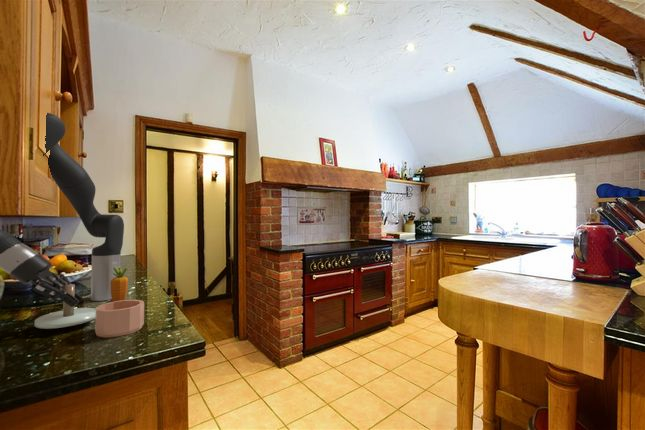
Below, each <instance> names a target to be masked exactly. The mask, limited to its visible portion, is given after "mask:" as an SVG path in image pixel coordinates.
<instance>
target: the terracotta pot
mask: <svg viewBox="0 0 645 430" xmlns="http://www.w3.org/2000/svg"><path fill="white" fill-rule="evenodd" d="M95 309H96V312H95V319H94V325H95V326H94V332H95V334H96V336H97V337H99V338H117V337H123V336H127V335H130V334H133V333H136V332H138V331H139V330H141V329H142V328H143V326H144V325H145V302H144V301H143V300H140V299H125V300H121V301H114V302H113V301H110V302H106V303H103V304H102V303H101V304H100V305H98V306H96V307H95Z"/></svg>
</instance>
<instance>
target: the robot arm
mask: <svg viewBox="0 0 645 430" xmlns="http://www.w3.org/2000/svg"><path fill="white" fill-rule="evenodd" d="M65 134H66V125H65V123H64V122H63V120H62V119H61V118H60V117H59V116H58V115H55V114H53V113H50V112H47V115H46V136H45V137H46V138H45V141H46V144H45V148H46V153H47V152H48V151H49V150H50V155H49V158H48V165H49V168H50V172H51V175H52V177H51V178H52V179H53V181H54V182H55V184H56V185H57V187H58V188H59V190H60V191H61V192H62V194H63V195H64V196H65V197H66V199H67V200H68V202H69V203H70V205H71V206H72V207H73V209H74V210H75V211H76V213H77V215H78V217H79V219H80V220H81V222H82V224H83V226H84V228H85V230H86V231H87V232H88V233H89V235H90V236H92V237H94V238H105V239H104V242H103V243H102V244H101V245H98V246H95V247H93V248H92V250H91V272H90V273H91V277H90V279H91V280H90V301H96V302H101V301H110V300H112V297H111V280H112V279H113V278H115V277H117V276H115V275H114V274H113V273H116V272H115V270H114V269H113V268H114V267H117V269H118V270H119V268H121V263H122V261H121V256H122V255H121V253H122V252H121V251H122V248H123V245H124V243H123V242H124V233H125V223H124V219H123V218H122V216H121V215H119V214H101V213H100V212H99V211H98V209H96V206H95V204H94V200H95V195H96V186H95V183H94V181H93V180H92V178H91V176H90V175H89V173H88V171H87V170H86V169H85V168H84V167H83V166H82V165H81V164H80V163H79V162H77V161H76V159H74V158H73V157H72V156H71V155H69V154H68V152H66V151H65V150H64V149H63V148H62V147H61V145H60V144H59V142H60V141H61V140H62V139H63V138H64V136H65ZM46 153H45V154H46ZM45 154H43V156H44V155H45ZM51 175H50V176H51ZM52 266H53V264H52V262H50V261H49V260H47V259H46V258H45V257H44V256H42V255H41V254H40V253H39V252H37V251H35V250H34V249H33V248H32V247H29V246H28V245H26V244H24V243H23V242H22V241H21V240H19V239H18V238H16V237H15V236H14V235H12V234H11V233H9V232H8V231H5V230H2V229H0V269H1V270H3V271H4V272H6V273H7V274H8V275H10V276H12V277H13V278H14V279H16V280H17V281H18V282H19V283H21V284H23V285H28V284H30V283H33V284H34V285H35V287H33V288H32V291H34V292H35V293H38V294H40V295H42V296H44V297H46V298H49V299H51V300H59V301H60V300H61V301H62V302H63V301H64V302H65V303H66V304H68V305H69V306H71V307H73V306H74V307H75V306H76V305H78V304H79V303H80V302H81V301H82V300H83V298H84V297H82V296H81V295H80V294H78V293H77V292H76V291H75V297H74V296H72V295H71V294H70V293H68V292H67V291H66V290H65V289H64V285H68V284H72V283H71V282H70V280H69V279H68V278H67V276H66V275H65V274H62V273H60V274H58V273H56V272H52V271H51V270H50V269H51V268H52ZM67 293H68V294H67Z"/></svg>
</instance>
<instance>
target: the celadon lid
mask: <svg viewBox="0 0 645 430" xmlns="http://www.w3.org/2000/svg"><path fill="white" fill-rule="evenodd" d="M64 289H65V290H66V291H67V292H68V293H70V294H71V295H72V296H74V297H75V292H76V291H75V290H76V285H75V283H71V284H68V285H64ZM68 293H67V294H68ZM62 303H63V306H62V307H63V309H62V310H59V311H54V312H50V313H47V314H43V315H41V316H39V317H37V318H36V319H35V320H34V327H35V328H37V329H46V330H49V329H59V328H61V329H62V328H67V327H72V326H78V325H81V324H84V323H88V322H90V321H93V320H95V312H96V307H95V308H92V307H79V308H78V307H77V308H75V306H73V307H71V306H69V305H68V304H66V303H65V302H64V301H62Z"/></svg>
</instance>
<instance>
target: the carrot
mask: <svg viewBox="0 0 645 430" xmlns="http://www.w3.org/2000/svg"><path fill="white" fill-rule="evenodd" d="M113 269H114V270H115V272H116V273H113V274H114V275H115V276H117V277H115V278H113V279H112V280H111V297H112V299H111V302H114V301H121V300H127V299H126V298H127V295H128V288H129V278H128V277H127V276H124V275H125V273H126V272H127V270H128V267H125V268H124V269H122V268H121V267H120V268H119V270H118V269H117V267H114V268H113Z"/></svg>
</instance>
